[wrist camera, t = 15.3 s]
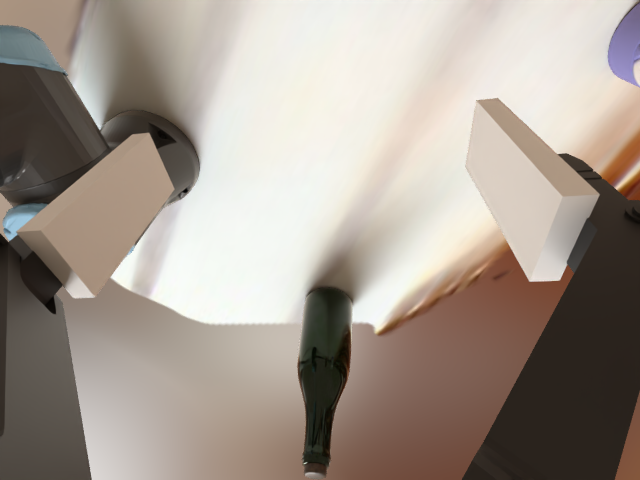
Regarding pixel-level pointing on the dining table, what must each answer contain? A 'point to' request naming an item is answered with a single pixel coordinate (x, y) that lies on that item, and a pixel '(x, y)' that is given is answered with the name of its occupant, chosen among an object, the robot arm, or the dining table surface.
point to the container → (627, 48)
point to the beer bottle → (323, 371)
